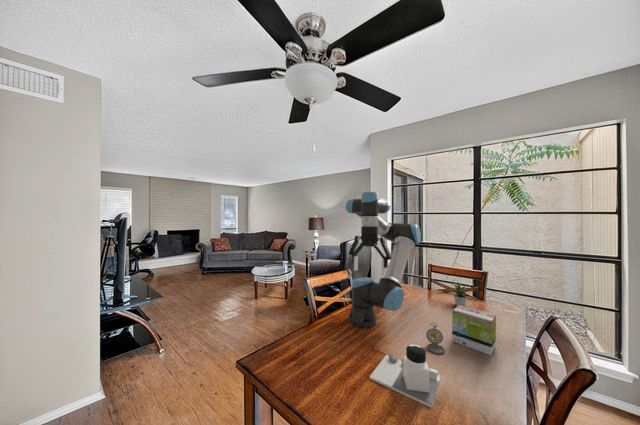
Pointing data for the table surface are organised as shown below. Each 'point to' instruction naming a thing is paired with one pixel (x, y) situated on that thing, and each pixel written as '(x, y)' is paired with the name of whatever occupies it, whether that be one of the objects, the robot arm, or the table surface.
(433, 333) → the pocket watch
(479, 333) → the tea box
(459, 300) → the house plant
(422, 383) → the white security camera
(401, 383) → the board
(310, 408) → the table surface
